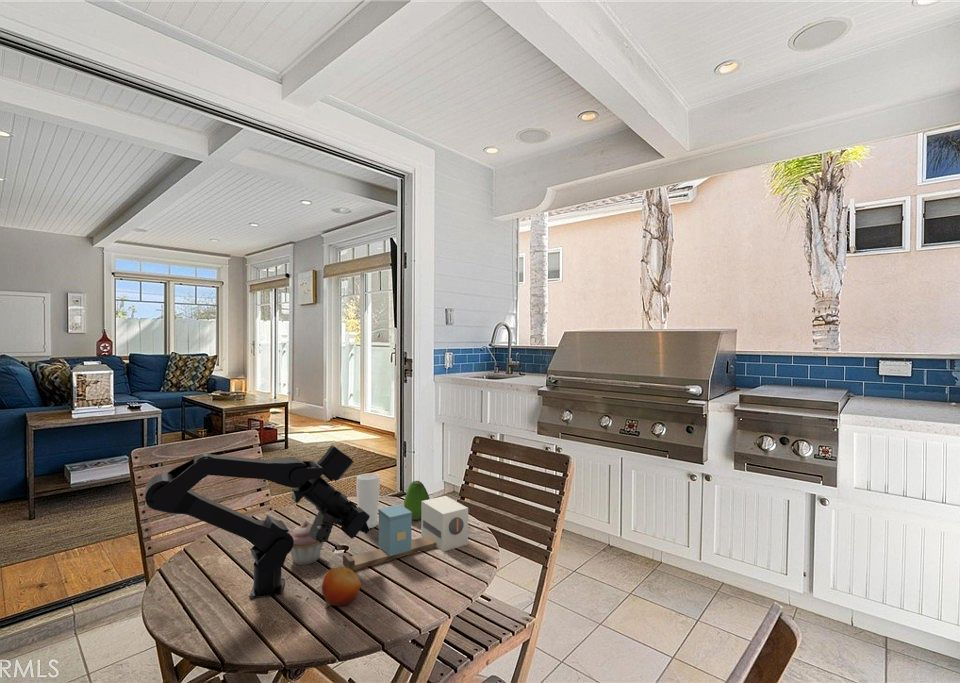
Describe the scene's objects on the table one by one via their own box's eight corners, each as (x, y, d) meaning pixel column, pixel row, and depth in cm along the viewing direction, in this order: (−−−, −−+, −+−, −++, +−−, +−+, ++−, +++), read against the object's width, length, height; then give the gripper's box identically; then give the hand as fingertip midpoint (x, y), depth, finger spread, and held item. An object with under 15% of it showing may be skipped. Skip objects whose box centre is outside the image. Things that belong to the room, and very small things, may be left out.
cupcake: (277, 563, 119) (277, 523, 119) (305, 548, 128) (306, 511, 127) (305, 571, 115) (306, 530, 115) (333, 555, 124) (333, 517, 124)
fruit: (311, 590, 104) (331, 556, 106) (344, 602, 107) (363, 569, 108) (312, 610, 97) (334, 573, 98) (347, 623, 99) (367, 586, 100)
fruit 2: (432, 514, 152) (432, 477, 152) (426, 524, 144) (427, 485, 144) (407, 513, 153) (407, 476, 153) (401, 523, 145) (401, 484, 145)
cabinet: (444, 553, 126) (444, 515, 125) (421, 536, 136) (421, 501, 136) (469, 545, 130) (470, 509, 130) (445, 529, 141) (445, 495, 141)
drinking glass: (355, 523, 145) (355, 473, 145) (378, 520, 147) (378, 472, 147) (356, 531, 139) (357, 480, 139) (380, 529, 141) (380, 478, 141)
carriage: (390, 556, 120) (390, 517, 120) (378, 546, 126) (378, 508, 126) (412, 550, 124) (412, 512, 123) (399, 540, 130) (399, 504, 129)
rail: (349, 571, 115) (349, 561, 115) (342, 563, 119) (342, 553, 119) (436, 546, 129) (436, 538, 129) (427, 540, 133) (427, 531, 133)
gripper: (288, 513, 118) (333, 546, 125) (310, 539, 103) (359, 575, 110) (321, 476, 123) (362, 510, 129) (346, 496, 108) (391, 533, 114)
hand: (367, 531), depth 120 cm, fingers closed
